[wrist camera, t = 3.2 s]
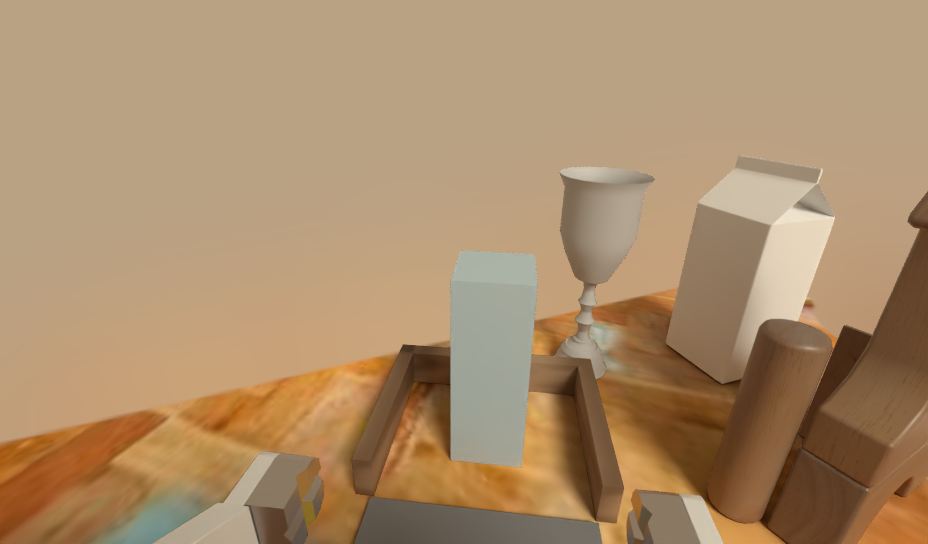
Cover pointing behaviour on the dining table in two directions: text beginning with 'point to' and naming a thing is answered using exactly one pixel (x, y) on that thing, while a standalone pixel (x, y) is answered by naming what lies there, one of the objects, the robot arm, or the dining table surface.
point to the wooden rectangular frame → (544, 377)
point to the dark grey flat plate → (465, 526)
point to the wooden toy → (832, 417)
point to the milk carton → (748, 261)
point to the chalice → (597, 239)
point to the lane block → (491, 355)
